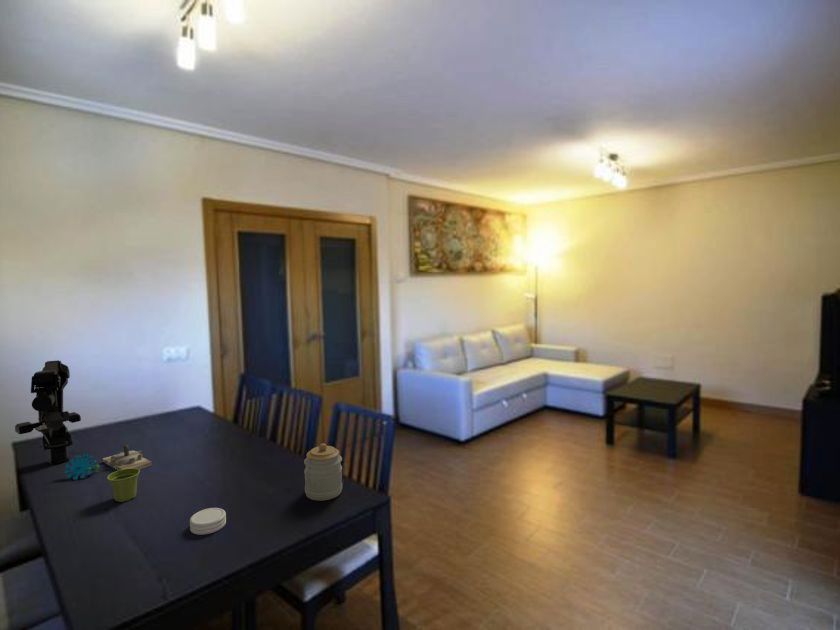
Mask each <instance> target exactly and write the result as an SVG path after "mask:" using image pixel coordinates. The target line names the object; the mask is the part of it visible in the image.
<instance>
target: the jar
mask: <svg viewBox="0 0 840 630" xmlns="http://www.w3.org/2000/svg"><path fill="white" fill-rule="evenodd" d="M305 455H306V456H305V457H306V458H305V459H304V460H303V464H304V465H305V468H304V483H305V484H304V492H305V496H306V498H308V499H309V500H312V501H320V502H321V501H329V500H331V499H335V498H337V497H338V496H340V494H341V493H342V491H343V479H342V478H343V474H342V473H343V471H342V470H343V466H342V464H341V462H342V461H343V457H342V456H341V455H340V450H339V449H337V448H336V447H334V446H331V445H327V444H326V443H321V444H319V445H318V446H315V447H313V448H311V450H309V451H308V452H307V453H306V454H305Z"/></svg>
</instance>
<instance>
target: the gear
mask: <svg viewBox="0 0 840 630" xmlns="http://www.w3.org/2000/svg"><path fill="white" fill-rule="evenodd" d="M75 458H76V460H74V458H71V459H70V460H69V461H68V462H70V464H71V465H70V464H68V463H66V464H65V466H64V468H65V469H66V470H65V469H64V474H65V475H66V477H67V478H68V479H69V480H70V479H71V478H72V479H73V480H74V481H78V478H79V477H80V479H81V480H82V479H85V478H86V472H87V475H89V476H90V475H91V474H92V473H93V472H95V473H99V471H98V469H99V468H100V464H98V463H97V460H96V459H95V458H94V456H93V455H92V454H91V455H88V454H87V453H83V454H82V455H80V454H76V455H75ZM91 463H92V464H93V465H92V464H91ZM96 463H97V464H96ZM68 469H70V470H68ZM70 473H71V474H70Z"/></svg>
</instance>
